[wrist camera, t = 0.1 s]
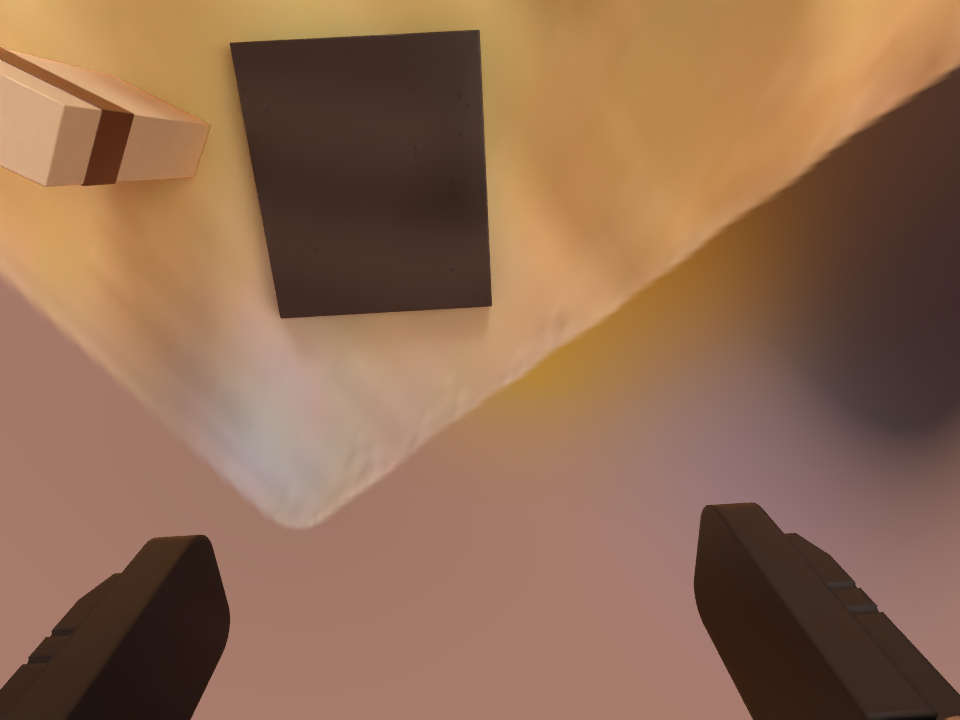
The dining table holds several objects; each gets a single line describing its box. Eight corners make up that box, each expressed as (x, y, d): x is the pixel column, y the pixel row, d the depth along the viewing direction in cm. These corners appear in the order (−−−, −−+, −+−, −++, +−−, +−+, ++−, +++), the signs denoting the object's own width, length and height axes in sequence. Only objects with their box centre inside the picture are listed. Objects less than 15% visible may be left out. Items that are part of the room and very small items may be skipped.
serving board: (239, 47, 32) (229, 42, 30) (478, 35, 32) (479, 29, 31) (287, 312, 37) (280, 318, 36) (490, 300, 37) (492, 306, 36)
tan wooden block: (110, 73, 32) (-106, 20, 20) (212, 124, 33) (66, 104, 21) (95, 130, 33) (-119, 113, 21) (194, 178, 34) (46, 189, 22)
